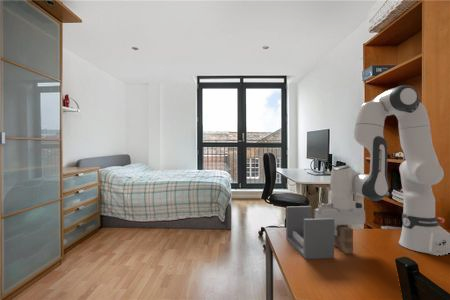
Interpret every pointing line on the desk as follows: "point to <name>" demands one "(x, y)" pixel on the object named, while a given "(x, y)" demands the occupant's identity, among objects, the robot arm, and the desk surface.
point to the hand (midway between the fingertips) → (341, 234)
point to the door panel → (344, 239)
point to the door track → (309, 233)
